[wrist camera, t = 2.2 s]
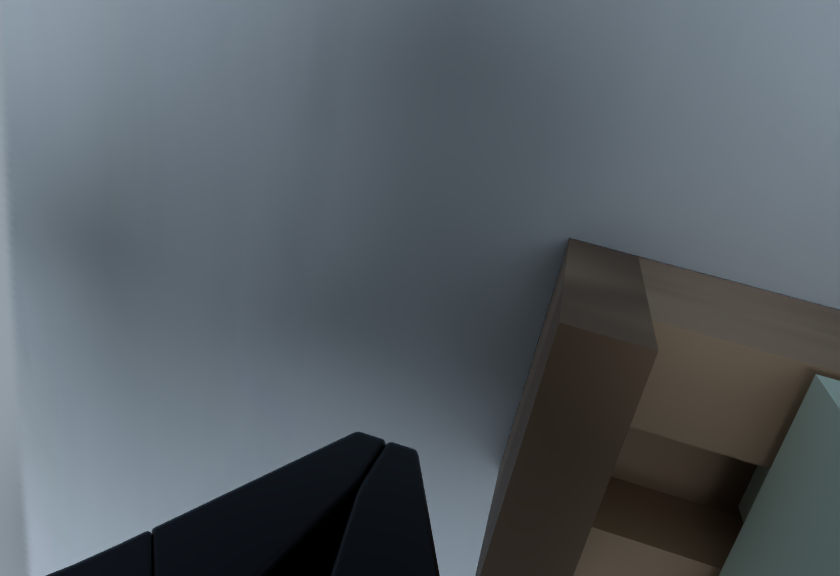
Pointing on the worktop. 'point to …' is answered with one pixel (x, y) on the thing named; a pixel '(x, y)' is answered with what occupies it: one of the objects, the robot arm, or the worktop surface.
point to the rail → (648, 418)
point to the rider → (795, 497)
